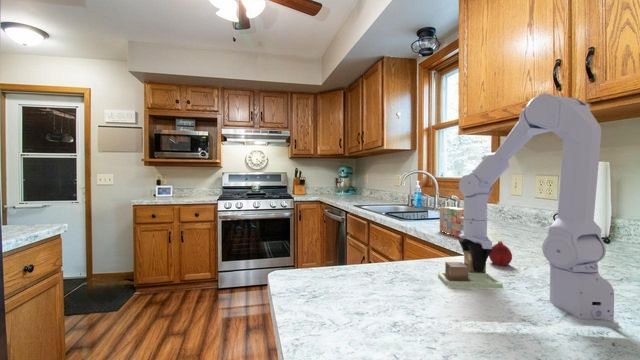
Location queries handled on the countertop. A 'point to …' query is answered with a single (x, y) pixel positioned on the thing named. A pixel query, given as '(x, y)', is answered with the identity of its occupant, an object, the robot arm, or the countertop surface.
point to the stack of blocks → (451, 220)
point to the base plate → (474, 282)
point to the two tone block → (470, 262)
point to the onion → (500, 254)
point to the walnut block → (456, 271)
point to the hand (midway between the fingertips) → (474, 268)
